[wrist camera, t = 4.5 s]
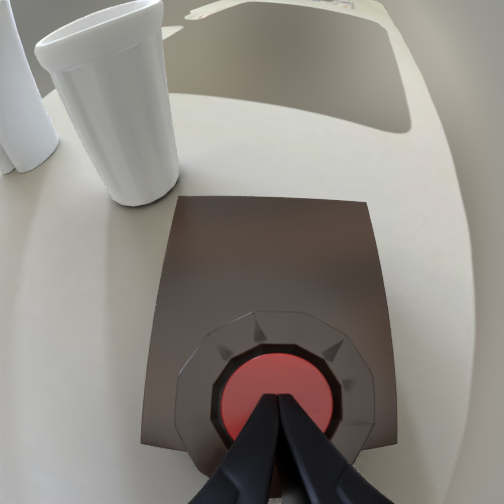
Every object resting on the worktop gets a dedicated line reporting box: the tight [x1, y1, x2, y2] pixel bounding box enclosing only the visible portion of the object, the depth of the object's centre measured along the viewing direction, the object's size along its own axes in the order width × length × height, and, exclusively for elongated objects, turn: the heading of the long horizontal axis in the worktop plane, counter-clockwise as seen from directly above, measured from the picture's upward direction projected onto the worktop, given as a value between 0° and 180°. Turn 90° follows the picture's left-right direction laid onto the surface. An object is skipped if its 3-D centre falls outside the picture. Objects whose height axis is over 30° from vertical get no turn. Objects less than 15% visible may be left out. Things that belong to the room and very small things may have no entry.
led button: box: [221, 353, 333, 441], centre depth 9 cm, size 4×4×2 cm
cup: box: [34, 0, 179, 206], centre depth 17 cm, size 8×8×14 cm
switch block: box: [141, 196, 397, 498], centre depth 13 cm, size 13×10×7 cm
